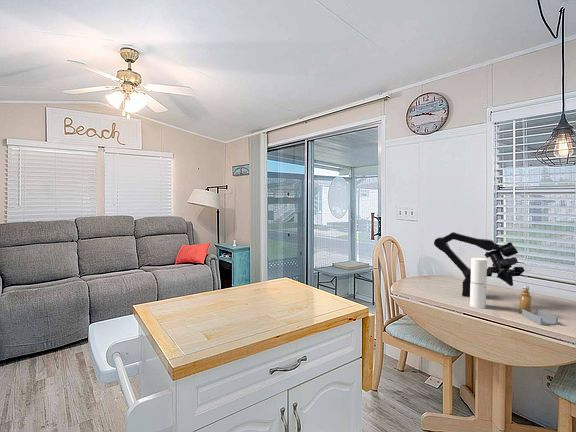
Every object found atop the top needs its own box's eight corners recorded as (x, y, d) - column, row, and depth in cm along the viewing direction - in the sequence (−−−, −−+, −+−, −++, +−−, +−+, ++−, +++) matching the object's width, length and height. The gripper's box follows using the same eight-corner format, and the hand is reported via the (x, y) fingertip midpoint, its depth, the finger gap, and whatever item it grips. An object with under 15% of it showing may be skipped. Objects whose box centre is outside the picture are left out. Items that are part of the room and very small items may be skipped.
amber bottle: (520, 314, 158) (521, 286, 157) (518, 311, 162) (519, 284, 161) (531, 315, 156) (532, 288, 155) (529, 312, 160) (530, 286, 159)
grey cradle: (522, 316, 156) (522, 309, 155) (537, 315, 156) (538, 309, 156) (540, 324, 145) (540, 317, 144) (557, 324, 145) (557, 317, 145)
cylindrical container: (466, 304, 173) (468, 257, 172) (479, 303, 174) (480, 257, 173) (475, 308, 166) (477, 260, 165) (488, 308, 167) (490, 260, 166)
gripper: (488, 251, 172) (502, 277, 162) (522, 251, 173) (538, 277, 162) (479, 263, 180) (491, 288, 170) (511, 263, 181) (526, 288, 171)
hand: (511, 285), depth 168 cm, fingers closed
